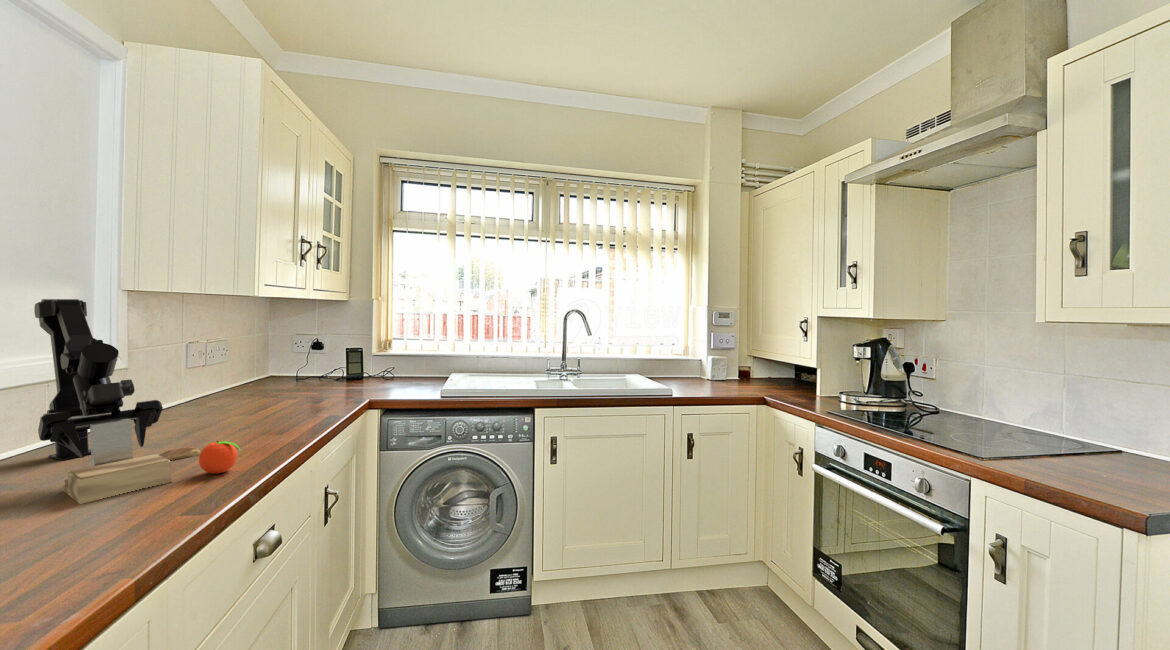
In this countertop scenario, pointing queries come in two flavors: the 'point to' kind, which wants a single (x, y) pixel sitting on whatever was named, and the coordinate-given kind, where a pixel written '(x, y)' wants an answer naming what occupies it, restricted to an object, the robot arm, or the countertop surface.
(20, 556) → the countertop surface
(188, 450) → the shard
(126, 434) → the cover plate
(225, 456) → the clementine
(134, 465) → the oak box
